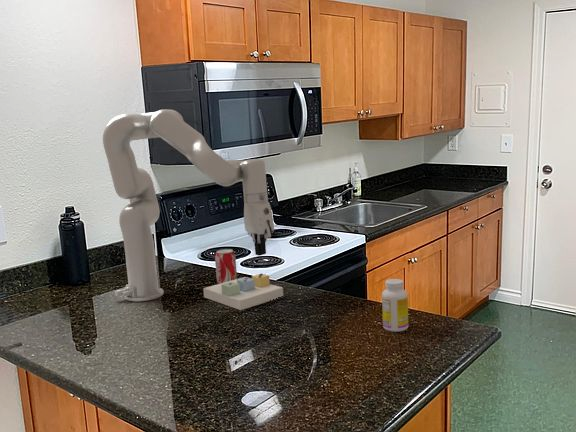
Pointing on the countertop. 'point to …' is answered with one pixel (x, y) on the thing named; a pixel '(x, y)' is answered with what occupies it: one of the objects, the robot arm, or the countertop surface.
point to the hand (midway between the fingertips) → (260, 254)
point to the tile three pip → (261, 280)
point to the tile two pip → (246, 284)
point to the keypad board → (243, 295)
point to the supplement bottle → (395, 306)
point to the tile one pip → (230, 289)
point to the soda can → (225, 266)
